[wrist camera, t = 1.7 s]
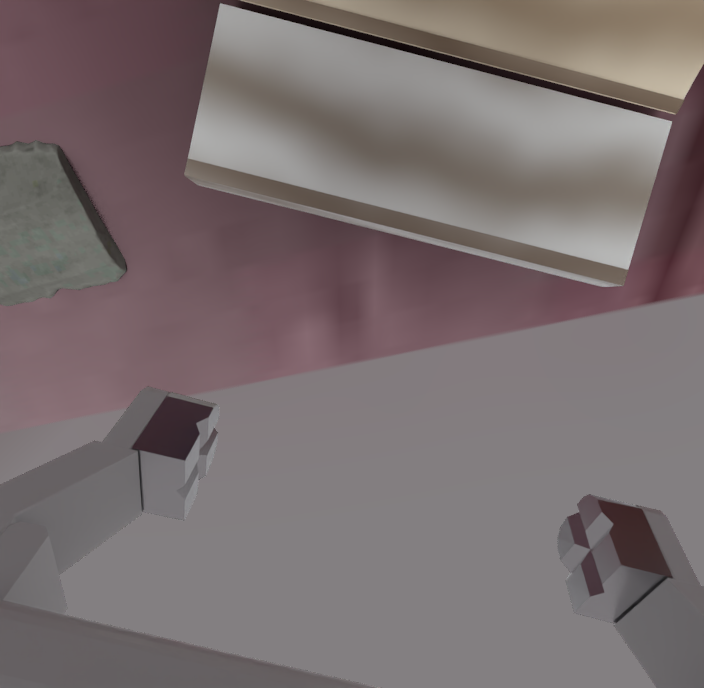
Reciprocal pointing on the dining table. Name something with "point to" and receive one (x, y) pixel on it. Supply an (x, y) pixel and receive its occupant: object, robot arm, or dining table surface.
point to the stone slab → (49, 227)
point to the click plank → (423, 148)
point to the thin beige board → (544, 38)
